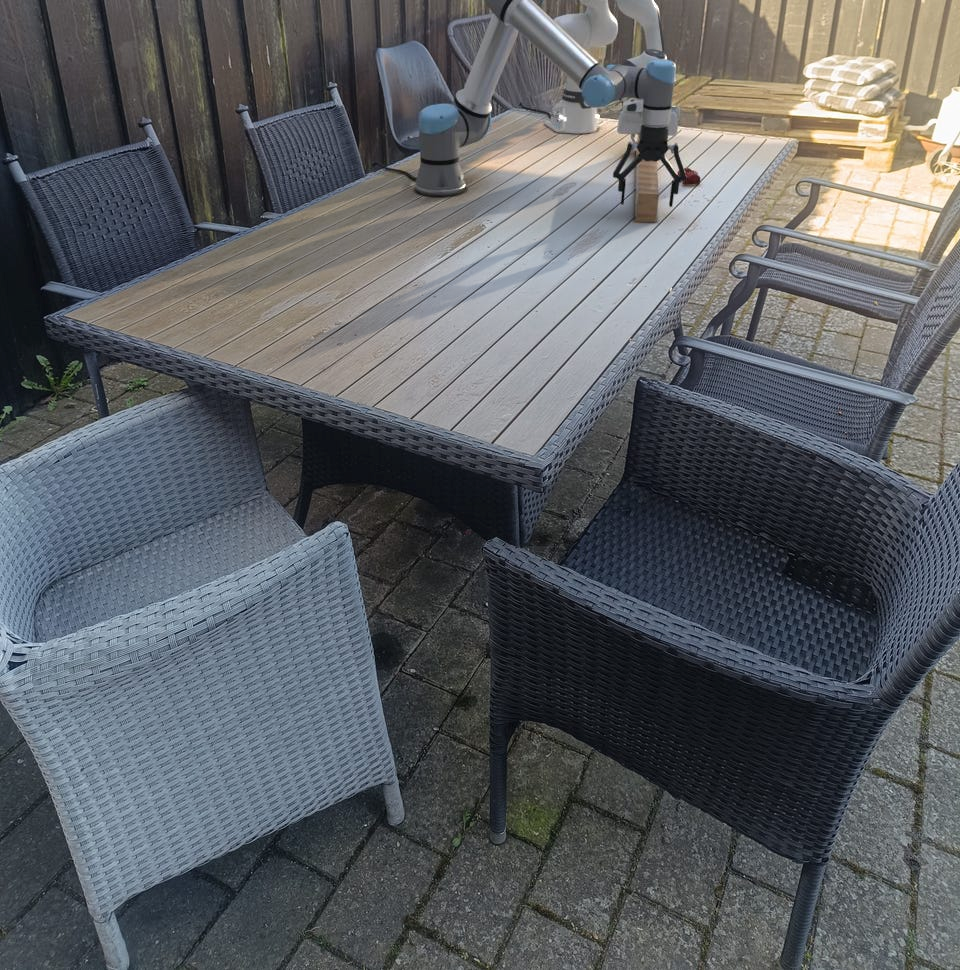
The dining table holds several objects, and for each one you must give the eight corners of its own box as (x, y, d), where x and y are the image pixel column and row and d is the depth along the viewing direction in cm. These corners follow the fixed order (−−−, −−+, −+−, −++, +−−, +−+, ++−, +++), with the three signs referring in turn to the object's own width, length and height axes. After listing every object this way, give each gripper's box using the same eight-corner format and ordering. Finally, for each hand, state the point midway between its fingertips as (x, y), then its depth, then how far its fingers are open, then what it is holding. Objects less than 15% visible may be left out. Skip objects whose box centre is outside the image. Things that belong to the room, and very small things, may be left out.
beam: (655, 222, 234) (658, 194, 229) (635, 221, 234) (638, 193, 230) (652, 150, 296) (654, 127, 291) (636, 150, 297) (638, 126, 292)
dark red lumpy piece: (691, 164, 266) (703, 171, 259) (690, 177, 268) (701, 185, 262) (675, 166, 265) (686, 173, 258) (673, 179, 267) (684, 187, 261)
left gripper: (701, 122, 228) (690, 202, 240) (609, 119, 231) (602, 198, 243) (703, 129, 222) (691, 210, 234) (608, 126, 225) (601, 206, 237)
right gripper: (681, 103, 282) (675, 147, 290) (619, 101, 284) (615, 144, 292) (681, 107, 277) (676, 151, 285) (619, 105, 279) (615, 149, 287)
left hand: (646, 204), depth 239 cm, fingers open, 13 cm apart
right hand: (645, 148), depth 289 cm, fingers closed on beam, 5 cm apart
